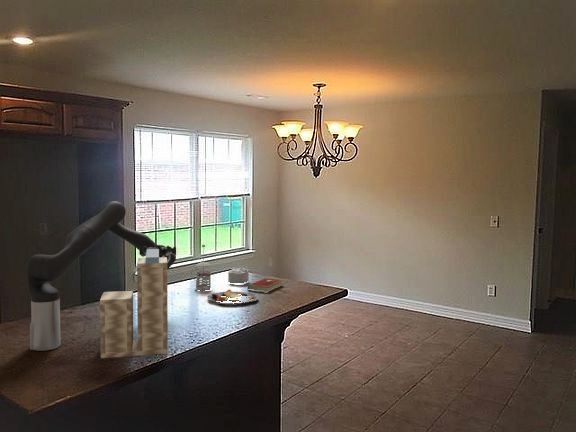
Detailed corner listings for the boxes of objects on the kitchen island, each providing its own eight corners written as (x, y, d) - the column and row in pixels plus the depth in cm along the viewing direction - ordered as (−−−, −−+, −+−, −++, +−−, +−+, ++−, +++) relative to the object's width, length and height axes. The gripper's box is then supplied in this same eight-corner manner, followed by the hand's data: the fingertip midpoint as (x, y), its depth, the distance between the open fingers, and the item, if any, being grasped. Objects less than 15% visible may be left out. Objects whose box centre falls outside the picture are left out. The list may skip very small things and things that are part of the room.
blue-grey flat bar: (145, 263, 171) (145, 257, 171) (146, 254, 191) (146, 249, 190) (158, 262, 172) (158, 257, 172) (158, 254, 192) (158, 249, 191)
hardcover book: (247, 291, 274) (247, 284, 273) (264, 284, 293) (264, 277, 293) (267, 294, 269) (267, 286, 269) (283, 286, 288) (283, 279, 288)
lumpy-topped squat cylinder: (225, 284, 291) (225, 269, 290) (237, 280, 302) (237, 266, 302) (241, 286, 286) (241, 271, 286) (252, 282, 298) (252, 267, 297)
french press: (210, 292, 270) (211, 245, 268) (189, 291, 270) (189, 245, 268) (213, 288, 280) (214, 243, 278) (193, 287, 280) (193, 243, 278)
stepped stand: (100, 358, 170) (99, 264, 168) (104, 346, 181) (103, 258, 179) (167, 353, 175) (167, 262, 173) (167, 342, 187) (166, 257, 185)
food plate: (198, 299, 252) (198, 292, 252) (233, 293, 269) (233, 286, 269) (231, 310, 235) (231, 303, 235) (266, 302, 252) (266, 295, 252)
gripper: (143, 247, 211) (137, 239, 195) (178, 246, 213) (175, 238, 197) (143, 264, 209) (137, 258, 193) (178, 263, 211) (175, 257, 195)
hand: (156, 248), depth 195 cm, fingers open, 8 cm apart
